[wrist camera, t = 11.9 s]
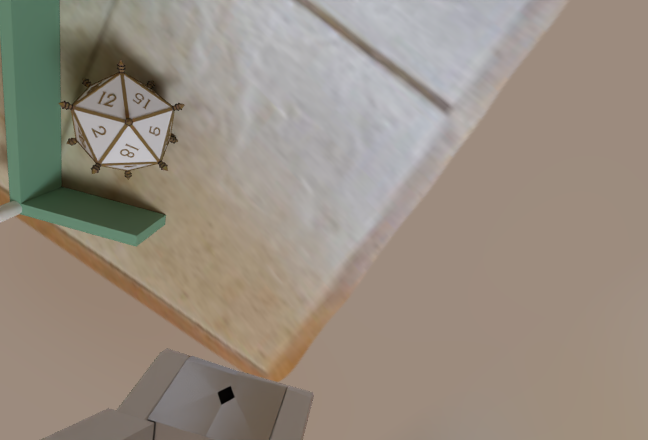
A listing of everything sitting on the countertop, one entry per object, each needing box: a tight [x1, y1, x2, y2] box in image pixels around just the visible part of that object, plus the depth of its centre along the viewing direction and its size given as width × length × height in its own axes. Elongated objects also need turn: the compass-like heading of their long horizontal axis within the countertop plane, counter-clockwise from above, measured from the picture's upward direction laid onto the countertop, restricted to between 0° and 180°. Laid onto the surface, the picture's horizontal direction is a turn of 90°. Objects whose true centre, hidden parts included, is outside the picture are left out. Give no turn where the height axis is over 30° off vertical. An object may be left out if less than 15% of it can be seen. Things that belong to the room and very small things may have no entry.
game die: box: [59, 60, 184, 179], centre depth 36 cm, size 9×8×10 cm
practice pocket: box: [0, 0, 166, 246], centre depth 31 cm, size 21×15×18 cm
